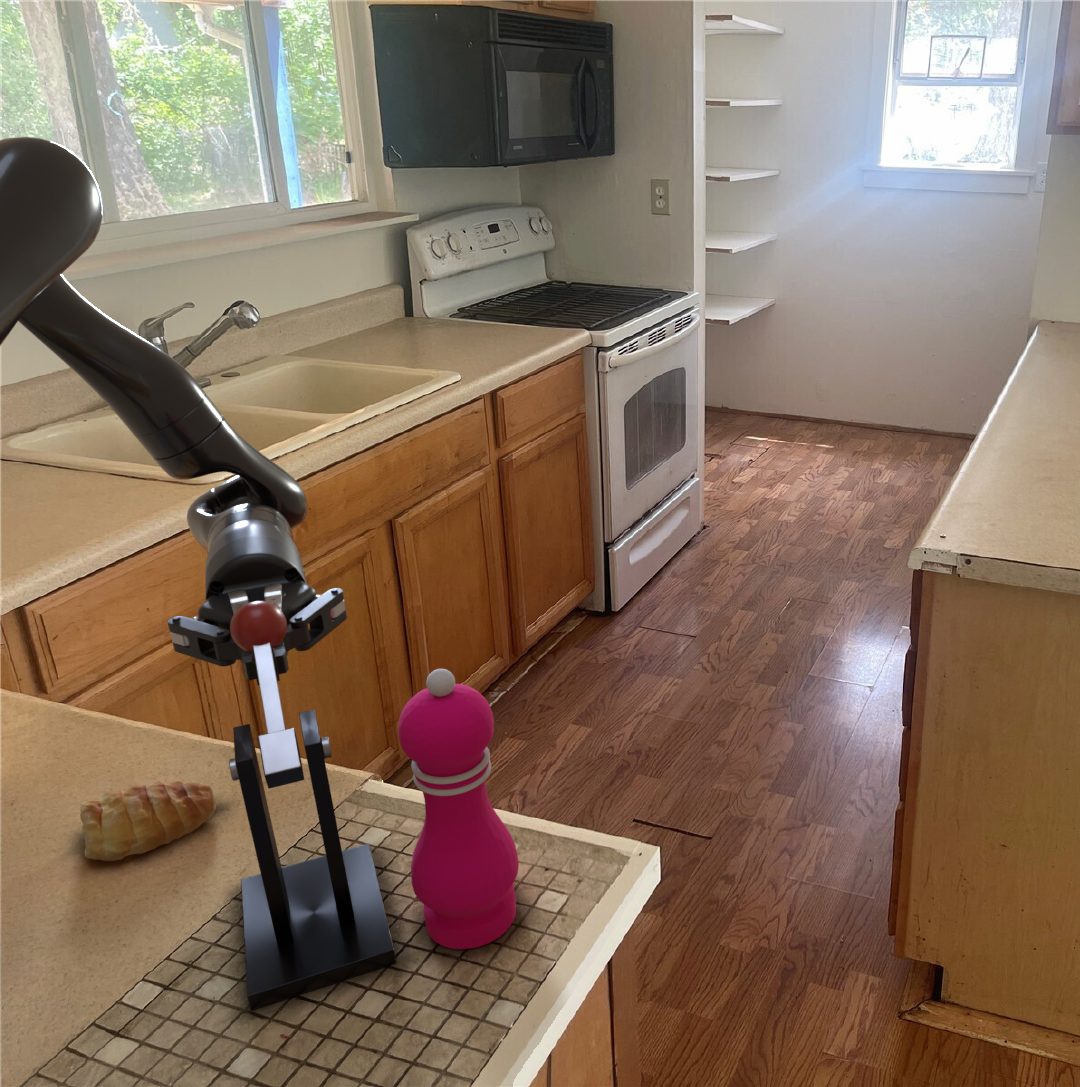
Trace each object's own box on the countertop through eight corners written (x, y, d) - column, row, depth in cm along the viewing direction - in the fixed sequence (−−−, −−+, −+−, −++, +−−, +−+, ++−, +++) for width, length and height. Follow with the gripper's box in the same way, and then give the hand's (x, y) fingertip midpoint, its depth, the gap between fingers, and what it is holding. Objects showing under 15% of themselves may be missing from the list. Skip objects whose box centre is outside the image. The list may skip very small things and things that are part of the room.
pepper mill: (405, 956, 69) (363, 700, 61) (434, 882, 75) (399, 643, 68) (512, 956, 69) (483, 700, 61) (532, 882, 75) (507, 643, 68)
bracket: (243, 891, 75) (198, 706, 68) (371, 855, 78) (339, 676, 72) (250, 1010, 65) (198, 806, 58) (396, 963, 68) (362, 765, 62)
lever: (230, 622, 72) (223, 596, 69) (285, 612, 74) (279, 586, 71) (258, 795, 66) (250, 774, 63) (316, 780, 67) (312, 760, 65)
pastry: (209, 788, 86) (200, 750, 85) (224, 831, 81) (215, 792, 80) (82, 829, 81) (70, 790, 80) (89, 877, 76) (76, 836, 75)
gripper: (156, 549, 81) (147, 644, 66) (331, 522, 86) (358, 605, 72) (176, 632, 84) (172, 741, 69) (345, 601, 89) (373, 696, 75)
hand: (266, 671), depth 71 cm, fingers closed
